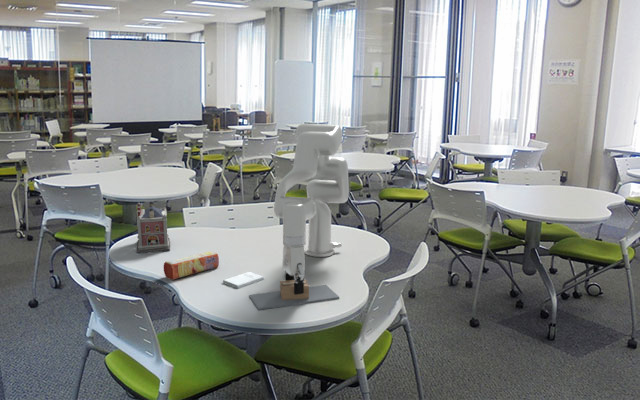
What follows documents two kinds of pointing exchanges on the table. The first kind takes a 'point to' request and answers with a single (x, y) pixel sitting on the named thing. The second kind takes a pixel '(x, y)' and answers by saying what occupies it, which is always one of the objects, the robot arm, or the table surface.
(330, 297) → the mat
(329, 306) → the table surface
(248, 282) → the external hard drive
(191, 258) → the snack package
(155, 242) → the model building
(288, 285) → the card box
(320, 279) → the table surface
